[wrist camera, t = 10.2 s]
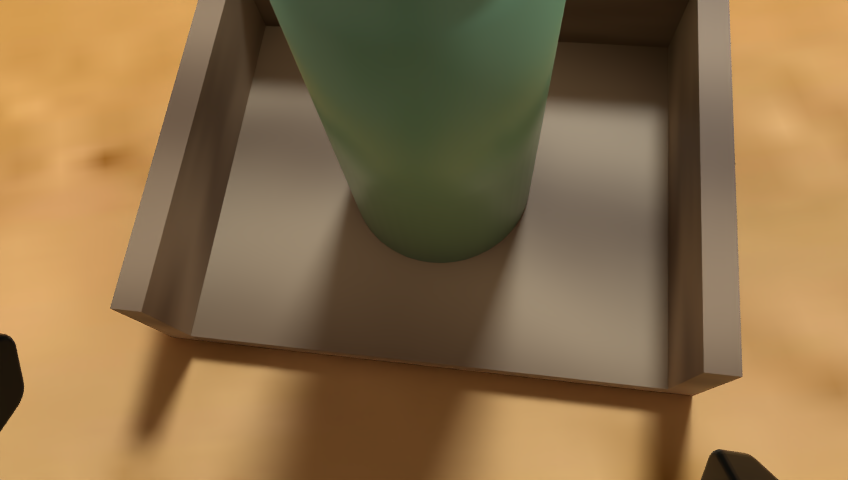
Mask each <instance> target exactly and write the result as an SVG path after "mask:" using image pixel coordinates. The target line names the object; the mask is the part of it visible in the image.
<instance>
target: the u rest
mask: <svg viewBox="0 0 848 480" xmlns="http://www.w3.org/2000/svg"><path fill="white" fill-rule="evenodd" d="M110 309H113V310H115V311H117V312H119V313H121V314H123V315H126V316H128V317H130V318H132V319H134V320H137V321H139V322H141V323H143V324H145V325H147V326H150V327H152V328H154V329H156V330H158V331H161V332H163V333H165V334H167V335H169V336H171V337H175V338H184V339H193V340H202V341H211V342H220V343H228V344H237V345H246V346H255V347H264V348H273V349H282V350H291V351H300V352H309V353H318V354H326V355H335V356H344V357H353V358H362V359H371V360H380V361H389V362H398V363H407V364H416V365H425V366H433V367H442V368H451V369H460V370H469V371H478V372H487V373H496V374H505V375H514V376H523V377H531V378H540V379H549V380H558V381H567V382H576V383H585V384H594V385H603V386H612V387H621V388H630V389H638V390H647V391H656V392H665V393H674V394H683V395H692V396H693V395H696V394H699V393H701V392H704V391H706V390H709V389H712V388H714V387H717V386H720V385H722V384H725V383H727V382H730V381H733V380H735V379H738V378H741V377H742V349H741V321H740V294H739V266H738V238H737V210H736V182H735V154H734V126H733V98H732V70H731V42H730V14H729V0H566V2H565V7H564V13H563V18H562V23H561V28H560V34H559V39H558V44H557V49H556V55H555V60H554V65H553V70H552V76H551V81H550V86H549V92H548V97H547V102H546V107H545V113H544V118H543V123H542V128H541V134H540V139H539V144H538V149H537V155H536V160H535V165H534V171H533V176H532V181H531V186H530V192H529V197H528V200H527V204H526V207H525V209H524V212H523V214H522V216H521V218H520V219H519V221H518V223H517V224H516V226H515V227H514V228H513V229H512V231H511V232H510V233H509V234H508V235H507V236H506V237H505V238H504V239H503V240H502V241H501V242H499V243H498V244H497V245H495V246H494V247H492V248H491V249H489V250H488V251H486V252H484V253H482V254H480V255H478V256H475V257H472V258H469V259H466V260H461V261H457V262H448V263H431V262H425V261H419V260H415V259H412V258H409V257H406V256H404V255H402V254H399V253H397V252H396V251H394V250H392V249H391V248H389V247H387V246H386V245H385V244H384V243H383V242H381V241H380V240H379V239H378V238H377V237H376V236H375V235H374V234H373V233H372V232H371V230H370V229H369V227H368V226H367V224H366V223H365V221H364V219H363V217H362V215H361V213H360V211H359V209H358V206H357V204H356V202H355V199H354V197H353V195H352V192H351V190H350V188H349V185H348V183H347V181H346V178H345V176H344V174H343V171H342V169H341V167H340V164H339V162H338V159H337V157H336V155H335V152H334V150H333V148H332V145H331V143H330V141H329V138H328V136H327V134H326V131H325V129H324V127H323V124H322V122H321V120H320V117H319V115H318V113H317V110H316V108H315V106H314V103H313V101H312V99H311V96H310V94H309V92H308V89H307V87H306V85H305V82H304V80H303V78H302V75H301V73H300V71H299V68H298V66H297V63H296V61H295V59H294V56H293V54H292V52H291V49H290V47H289V45H288V42H287V40H286V38H285V35H284V33H283V31H282V28H281V26H280V24H279V21H278V19H277V17H276V14H275V12H274V10H273V7H272V5H271V3H270V0H198V3H197V7H196V10H195V14H194V17H193V21H192V24H191V28H190V31H189V35H188V38H187V42H186V45H185V49H184V52H183V56H182V59H181V63H180V66H179V70H178V73H177V77H176V80H175V84H174V87H173V91H172V94H171V98H170V101H169V104H168V108H167V111H166V115H165V118H164V122H163V125H162V129H161V132H160V136H159V139H158V143H157V146H156V150H155V153H154V157H153V160H152V164H151V167H150V171H149V174H148V178H147V181H146V185H145V188H144V192H143V195H142V199H141V202H140V206H139V209H138V213H137V216H136V220H135V223H134V227H133V230H132V234H131V237H130V241H129V244H128V248H127V251H126V255H125V258H124V262H123V265H122V268H121V272H120V275H119V279H118V282H117V286H116V289H115V293H114V296H113V300H112V303H111V307H110Z"/></svg>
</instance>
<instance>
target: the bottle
mask: <svg viewBox="0 0 848 480" xmlns="http://www.w3.org/2000/svg"><path fill="white" fill-rule="evenodd" d="M565 2H566V0H270V3H271V5H272V7H273V10H274V12H275V14H276V17H277V19H278V21H279V24H280V26H281V28H282V31H283V33H284V35H285V38H286V40H287V42H288V45H289V47H290V49H291V52H292V54H293V56H294V59H295V61H296V63H297V66H298V68H299V71H300V73H301V75H302V78H303V80H304V82H305V85H306V87H307V89H308V92H309V94H310V96H311V99H312V101H313V103H314V106H315V108H316V110H317V113H318V115H319V117H320V120H321V122H322V124H323V127H324V129H325V131H326V134H327V136H328V138H329V141H330V143H331V145H332V148H333V150H334V152H335V155H336V157H337V159H338V162H339V164H340V167H341V169H342V171H343V174H344V176H345V178H346V181H347V183H348V185H349V188H350V190H351V192H352V195H353V197H354V199H355V202H356V204H357V206H358V209H359V211H360V213H361V215H362V217H363V219H364V221H365V223H366V224H367V226H368V227H369V229H370V230H371V232H372V233H373V234H374V235H375V236H376V237H377V238H378V239H379V240H380V241H381V242H383V243H384V244H385V245H386V246H387V247H389V248H391V249H392V250H394V251H396V252H397V253H399V254H402V255H404V256H406V257H409V258H412V259H415V260H419V261H425V262H431V263H448V262H457V261H461V260H466V259H469V258H472V257H475V256H478V255H480V254H482V253H484V252H486V251H488V250H489V249H491V248H492V247H494V246H495V245H497V244H498V243H499V242H501V241H502V240H503V239H504V238H505V237H506V236H507V235H508V234H509V233H510V232H511V231H512V229H513V228H514V227H515V226H516V224H517V223H518V221H519V219H520V218H521V216H522V214H523V212H524V209H525V207H526V204H527V200H528V197H529V192H530V186H531V181H532V176H533V171H534V165H535V160H536V155H537V149H538V144H539V139H540V134H541V128H542V123H543V118H544V113H545V107H546V102H547V97H548V92H549V86H550V81H551V76H552V70H553V65H554V60H555V55H556V49H557V44H558V39H559V34H560V28H561V23H562V18H563V13H564V7H565Z"/></svg>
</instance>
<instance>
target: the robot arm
mask: <svg viewBox="0 0 848 480" xmlns="http://www.w3.org/2000/svg"><path fill="white" fill-rule="evenodd" d="M23 392H24V382H23V377H22V372H21V367H20V363H19V358H18V353H17V349H16V345H15V342H14V341H13V339H12V338H11V337H10V336H8V335H6V334H1V333H0V431H1V430H2V428H3V427H4V426H5V424H6V423H7V421H8V420H9V418H10V417H11V415H12V414H13V412H14V411H15V410H16V408H17V407H18V405H19V403H20V401H21V399H22V396H23ZM701 480H778V479H777V478H776V477H775V476H774V475H773V474H772V473H770V472H769V471H768V470H767V469H766V468H765V467H764V466H763V465H762V464H761V463H760V462H758V461H757V460H756V459H755V458H754V457H752V456H751V455H749V454H745V453H740V452H734V451H727V450H721V449H718V450H715V451H713V452H712V453H711V455H710V456H709V458H708V461H707V464H706V467H705V470H704V472H703V475H702V478H701Z"/></svg>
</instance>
